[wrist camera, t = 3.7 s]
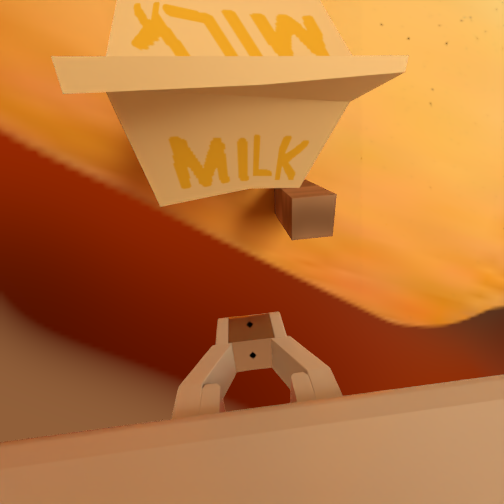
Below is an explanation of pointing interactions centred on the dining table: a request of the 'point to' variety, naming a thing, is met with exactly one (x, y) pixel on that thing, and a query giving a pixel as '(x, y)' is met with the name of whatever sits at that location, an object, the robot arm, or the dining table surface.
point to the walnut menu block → (305, 210)
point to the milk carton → (225, 90)
